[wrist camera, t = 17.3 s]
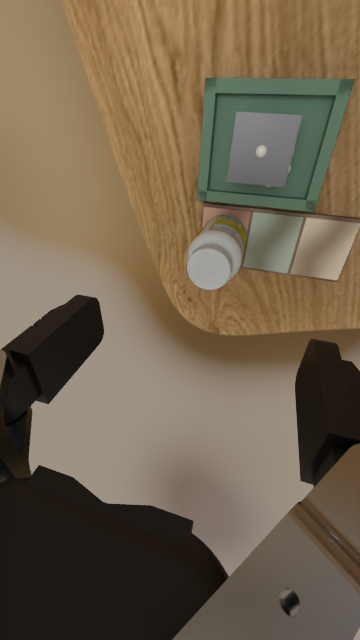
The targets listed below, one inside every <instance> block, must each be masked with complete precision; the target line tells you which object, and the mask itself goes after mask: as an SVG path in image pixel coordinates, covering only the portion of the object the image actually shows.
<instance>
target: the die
mask: <svg viewBox="0 0 360 640" xmlns="http://www.w3.org/2000/svg"><path fill="white" fill-rule="evenodd" d="M301 119H302V115H289V114H271V113H254V112H237V111H236V118H235V125H234V132H233V139H232V146H231V153H230V160H229V167H228V174H227V181H226V182H235V183H244V184H254V185H263V186H266V187H271V186H272V187H282V188H284V186H285V182H286V178H287V174H288V173H289V172H290V170H291V166H290V162H291V158H292V155H293V154H294V147H295V143H296V139H297V135H298V131H299V127H300V123H301Z"/></svg>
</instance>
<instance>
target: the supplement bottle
mask: <svg viewBox="0 0 360 640" xmlns="http://www.w3.org/2000/svg"><path fill="white" fill-rule="evenodd" d="M246 243H247V232H246V229H245V227H244V225H243V224H242V222H241V221H240V220H238V219H237V218H236V217H233V216H231V215H218V216H215V217H213V218H212V219H210V220H209V221H208V222H207V223H206V224H205V226H204V227H203V228H202V230H201V231H200V232H199V234H198V235H197V236H196V237H195V239H194V240H193V241H192V243H191V245H190V247H189V250H188V264H187V272H188V275H189V277H190V279H191V281H192V282H193V283H194V284H195V285H197V286H198V287H200V288H202V289H206V290H214V289H218V288H220V287H222V286H223V285H224V284H225V283H226V282H227V281H228V280H230V279H231V278H232V277H233V276H234V275H235V274H236V273H237V272H238V270H239V268H240V266H241V262H242V258H243V254H244V250H245V247H246Z"/></svg>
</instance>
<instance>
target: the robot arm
mask: <svg viewBox="0 0 360 640" xmlns="http://www.w3.org/2000/svg"><path fill="white" fill-rule="evenodd" d="M103 335H104V327H103V322H102V316H101V311H100V305H99V301H98V300H97V298H93V297H88V296H83V295H76V296H74V297H73V298H72V299H71V300H69V301H68V302H67V303H66V304H64V305H62V306H59V307H57V308H55V309H53V310H51V311H49V312H48V313H47V314H46V315H45V316H43V317H42V319H41V320H40V319H39V320H38V321H37V322H35V323H34V325H33V326H30V327H29V328H28V329H26V330H25V331H24V332H23V333H22V334H20V335H19V336H18V337H16V338H15V339H14V340H12V341H11V342H10V343H9V344H7V345H6V346H5V347H3V348H2V349H1V350H0V640H353V638H354V636H355V635H356V633H357V631H358V629H359V627H360V371H359V370H358V369H357V367H356V366H355V365H354V364H353V363H352V362H350V361H345V360H342V359H341V356H340V352H339V348H338V345H337V344H336V343H333V342H327V341H322V340H317V339H311V340H310V341H309V343H308V346H307V348H306V351H305V354H304V356H303V359H302V361H301V364H300V367H299V369H298V372H297V376H296V382H295V394H296V411H297V428H298V445H299V461H300V478H301V481H303V482H306V483H309V484H313V485H314V488H313V489H312V490H311V492H310V493H309V494H308V495H307V496H306V497H305V498H304V499H303V500H302V501H301V502H298V503H297V504H296V505H295V506H294V507H293V508H292V509H291V510H290V511H289V512H288V513H287V514H286V515H285V516H284V517H283V519H282V520H281V521H280V522H279V523H278V524H277V525H276V526H275V527H274V528H273V530H272V531H271V532H270V533H269V534H268V535H267V536H266V537H265V538H264V539H263V540H262V542H261V543H260V544H259V545H258V546H257V547H256V548H255V549H254V550H253V551H252V553H251V554H250V555H249V556H248V557H247V558H246V559H245V560H244V562H242V564H241V565H240V566H239V567H238V568H237V569H236V570H235V571H234V572H233V573H232V575H231V576H230V577H229V576H228V574H227V573H226V571H225V569H224V568H223V566H222V565H221V563H220V561H219V560H218V559H217V557H216V556H215V555H214V553H213V552H212V551H211V550H210V549H209V548H208V547H207V546H206V545H205V544H204V543H203V542H202V541H201V540H200V539H199V538H198V537H196V536H195V535H194V534H192V528H193V521H192V520H189V519H186V518H184V517H181V516H178V515H176V514H173V513H170V512H167V511H164V510H162V509H159V508H156V507H153V506H147V505H125V504H107V503H104V502H102V501H101V500H100V499H99V498H97V497H96V496H95V495H94V494H93V493H91V492H90V491H89V490H88V489H86V488H85V487H84V486H83V485H82V484H80V483H79V482H78V481H77V480H75V479H74V478H73V477H71V476H68V475H65V474H62V473H59V472H56V471H54V470H51V469H48V468H46V467H43V466H40V465H39V466H38V467H37V469H36V470H35V471H34V473H33V474H32V475H31V471H30V466H29V446H30V434H31V422H32V408H31V405H32V404H33V403H34V401H35V400H36V401H39V402H43V403H46V404H49V403H50V402H51V400H52V399H53V398H54V397H55V396H56V395H57V393H58V392H59V391H60V390H61V389H62V388H63V386H64V385H65V384H66V383H67V382H68V380H69V379H70V378H71V377H72V376H73V375H74V373H75V372H76V371H77V370H78V369H79V368H80V366H81V365H82V364H83V363H84V362H85V360H86V359H87V358H88V357H89V356H90V355H91V353H92V352H93V351H94V350H95V349H96V347H97V346H98V345H99V344H100V342H101V341H102V338H103Z"/></svg>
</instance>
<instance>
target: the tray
mask: <svg viewBox="0 0 360 640" xmlns="http://www.w3.org/2000/svg"><path fill="white" fill-rule="evenodd" d="M354 80H355V79H285V78H206V79H205V93H204V107H203V121H202V135H201V149H200V163H199V178H198V192H197V200H201V201H210V202H220V203H230V204H240V205H250V206H260V207H270V208H280V209H290V210H299V211H309V212H314V210H315V206H316V203H317V200H318V197H319V193H320V190H321V187H322V184H323V181H324V177H325V174H326V171H327V168H328V164H329V161H330V158H331V155H332V151H333V148H334V145H335V142H336V139H337V135H338V132H339V129H340V126H341V122H342V119H343V116H344V113H345V109H346V106H347V103H348V100H349V97H350V93H351V90H352V87H353V84H354ZM236 111H237V112H254V113H271V114H289V115H302V119H301V123H300V127H299V131H298V135H297V139H296V143H295V147H294V154H293V155H292V158H291V162H290V166H291V170H290V172H289V173H288V174H287V178H286V182H285V186H284V188H282V187H272V186H271V187H266V186H263V185H254V184H244V183H235V182H226V181H227V174H228V167H229V160H230V153H231V146H232V139H233V132H234V125H235V118H236Z"/></svg>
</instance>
